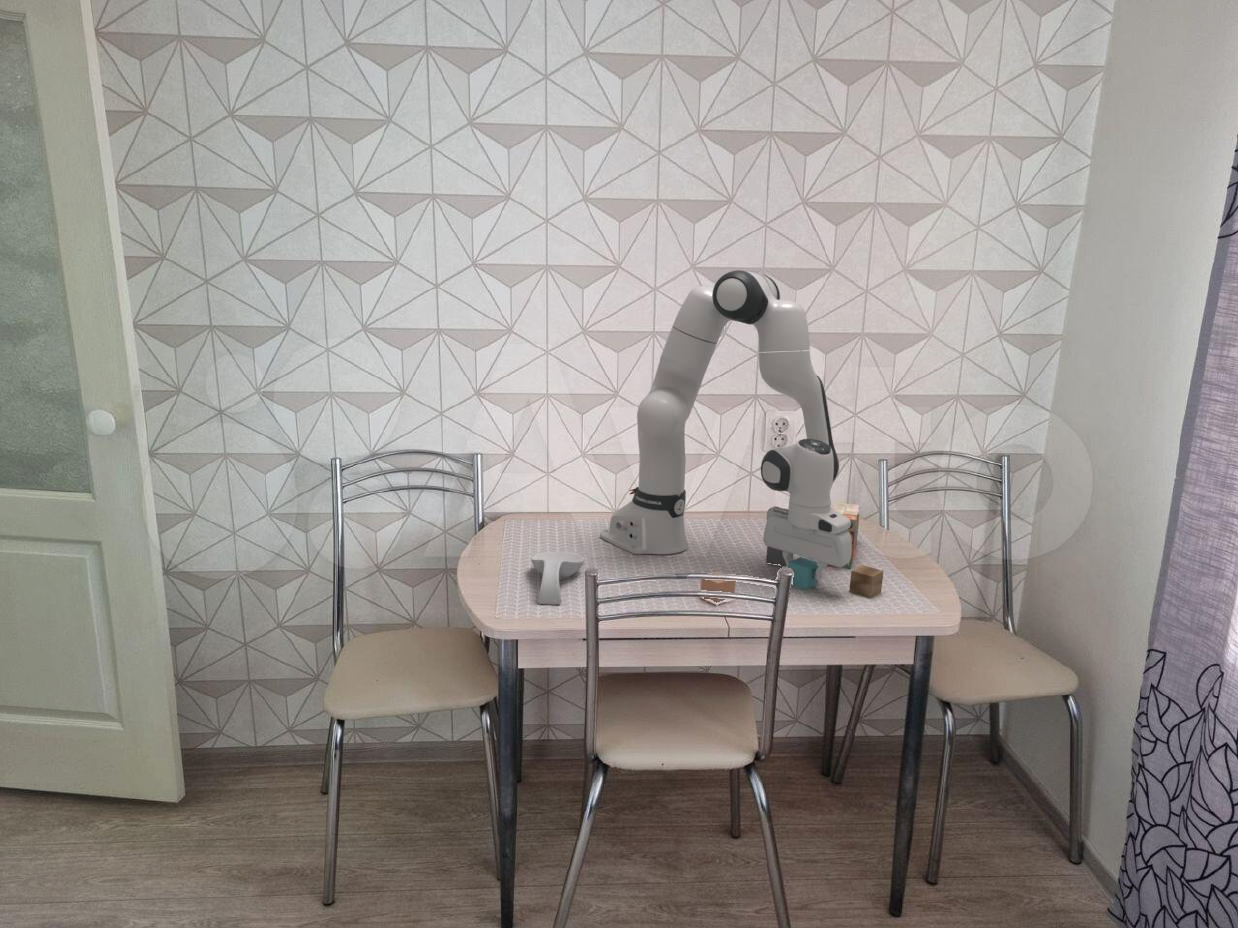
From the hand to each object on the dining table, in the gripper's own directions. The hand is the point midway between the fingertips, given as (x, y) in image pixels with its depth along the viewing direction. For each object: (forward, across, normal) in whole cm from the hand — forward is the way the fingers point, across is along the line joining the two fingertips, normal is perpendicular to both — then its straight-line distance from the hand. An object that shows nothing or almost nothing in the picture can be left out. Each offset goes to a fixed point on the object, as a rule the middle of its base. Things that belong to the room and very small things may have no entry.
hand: (803, 574), depth 198 cm
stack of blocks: (+2, -4, +25) cm, 26 cm away
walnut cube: (+2, +12, +6) cm, 14 cm away
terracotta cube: (+2, -8, -21) cm, 23 cm away
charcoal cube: (+2, -11, +8) cm, 14 cm away
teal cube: (+2, 0, 0) cm, 2 cm away
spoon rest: (+3, -38, -40) cm, 55 cm away
